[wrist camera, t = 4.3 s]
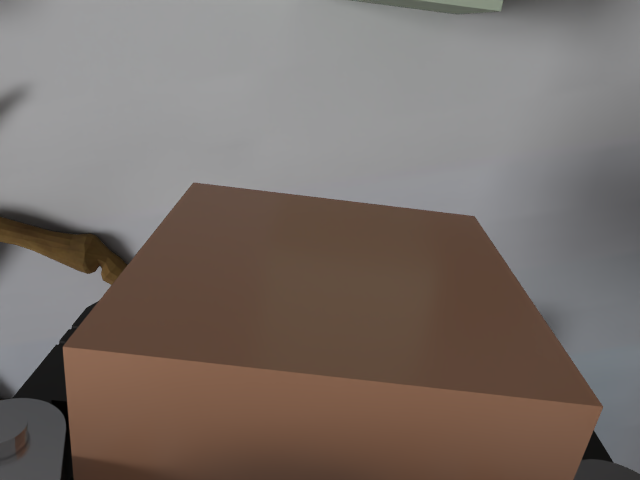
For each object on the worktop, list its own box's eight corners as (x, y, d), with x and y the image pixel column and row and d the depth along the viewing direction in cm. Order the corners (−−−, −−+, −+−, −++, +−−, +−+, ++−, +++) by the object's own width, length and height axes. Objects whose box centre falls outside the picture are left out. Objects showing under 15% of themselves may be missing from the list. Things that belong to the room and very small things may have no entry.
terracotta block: (193, 182, 10) (62, 345, 5) (474, 215, 10) (602, 406, 5) (187, 407, 11) (89, 674, 7) (420, 432, 12) (477, 712, 7)
